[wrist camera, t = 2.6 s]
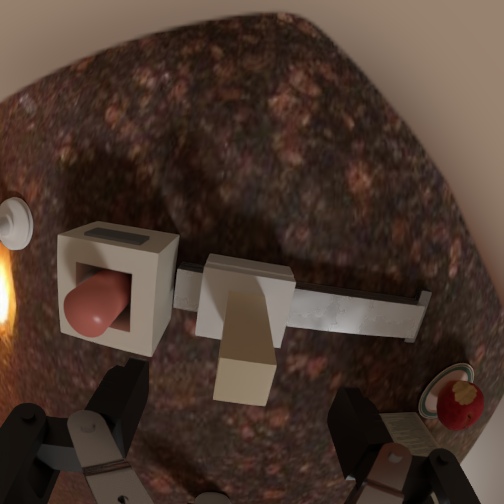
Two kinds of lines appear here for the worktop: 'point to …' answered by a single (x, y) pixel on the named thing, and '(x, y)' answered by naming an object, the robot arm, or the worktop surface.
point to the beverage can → (212, 498)
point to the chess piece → (15, 223)
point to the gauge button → (98, 301)
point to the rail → (329, 307)
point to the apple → (453, 398)
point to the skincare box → (411, 434)
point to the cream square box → (130, 261)
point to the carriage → (244, 323)
